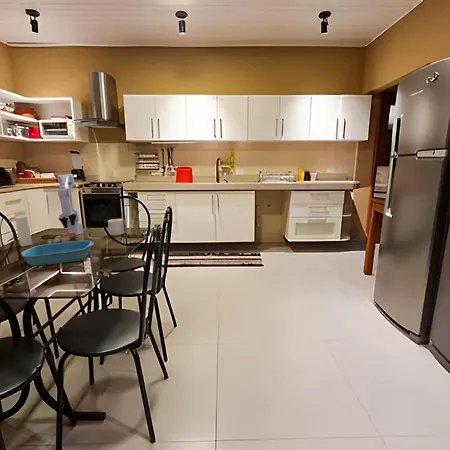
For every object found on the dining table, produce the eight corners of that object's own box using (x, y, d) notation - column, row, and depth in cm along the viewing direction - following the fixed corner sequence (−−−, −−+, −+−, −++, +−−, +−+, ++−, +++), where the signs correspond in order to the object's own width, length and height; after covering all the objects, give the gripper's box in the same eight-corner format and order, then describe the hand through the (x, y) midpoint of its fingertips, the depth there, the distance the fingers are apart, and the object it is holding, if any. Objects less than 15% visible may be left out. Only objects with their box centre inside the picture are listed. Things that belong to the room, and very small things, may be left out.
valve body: (72, 237, 223) (71, 232, 222) (78, 237, 221) (77, 232, 220) (47, 245, 205) (46, 239, 205) (52, 245, 203) (51, 240, 202)
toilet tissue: (109, 232, 231) (108, 219, 229) (126, 230, 234) (125, 217, 232) (109, 236, 221) (107, 222, 219) (126, 234, 224) (125, 220, 222)
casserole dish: (15, 270, 161) (12, 256, 160) (32, 256, 183) (30, 245, 181) (91, 261, 168) (89, 249, 167) (98, 249, 190) (97, 238, 188)
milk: (32, 244, 209) (26, 212, 204) (21, 246, 205) (15, 213, 200) (30, 243, 213) (24, 211, 209) (20, 244, 210) (13, 212, 205)
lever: (58, 235, 212) (58, 232, 211) (62, 234, 214) (61, 231, 213) (72, 237, 207) (71, 233, 206) (75, 235, 209) (74, 232, 208)
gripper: (67, 205, 215) (70, 224, 218) (53, 208, 201) (56, 229, 204) (77, 204, 214) (80, 224, 217) (63, 208, 200) (66, 229, 203)
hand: (69, 226), depth 211 cm, fingers open, 7 cm apart
